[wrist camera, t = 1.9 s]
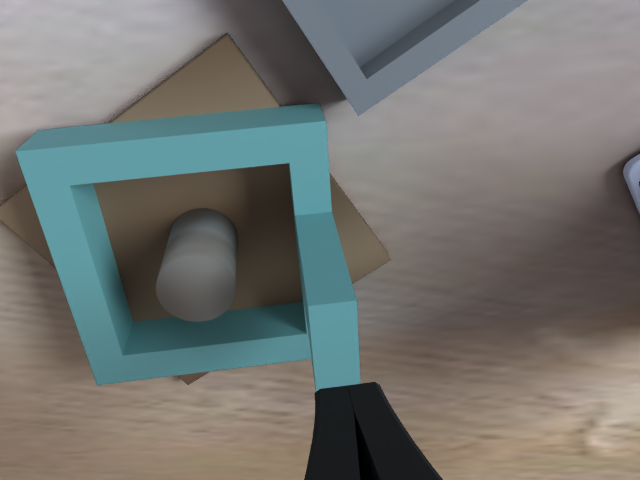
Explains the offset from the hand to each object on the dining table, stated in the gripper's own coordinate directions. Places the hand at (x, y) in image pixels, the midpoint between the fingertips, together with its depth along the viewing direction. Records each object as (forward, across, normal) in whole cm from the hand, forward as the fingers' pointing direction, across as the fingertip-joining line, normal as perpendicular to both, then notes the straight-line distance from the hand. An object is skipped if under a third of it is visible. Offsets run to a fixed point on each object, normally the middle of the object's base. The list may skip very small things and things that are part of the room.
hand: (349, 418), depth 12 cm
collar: (+9, +4, 0) cm, 10 cm away
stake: (+10, +4, 0) cm, 11 cm away
